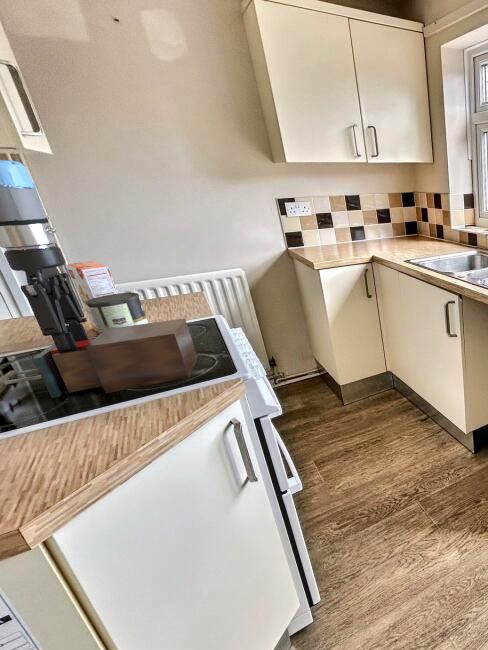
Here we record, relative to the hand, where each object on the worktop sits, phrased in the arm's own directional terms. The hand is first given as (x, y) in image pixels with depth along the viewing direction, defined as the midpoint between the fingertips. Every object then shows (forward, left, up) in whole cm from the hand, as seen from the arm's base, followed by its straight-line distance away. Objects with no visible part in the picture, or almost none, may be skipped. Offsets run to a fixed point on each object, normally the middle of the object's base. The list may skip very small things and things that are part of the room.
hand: (79, 357), depth 89 cm
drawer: (-2, 0, -6) cm, 6 cm away
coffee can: (+1, +25, -7) cm, 26 cm away
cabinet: (+11, 0, -7) cm, 13 cm away
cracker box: (-7, +42, -7) cm, 43 cm away
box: (0, 0, -3) cm, 3 cm away
